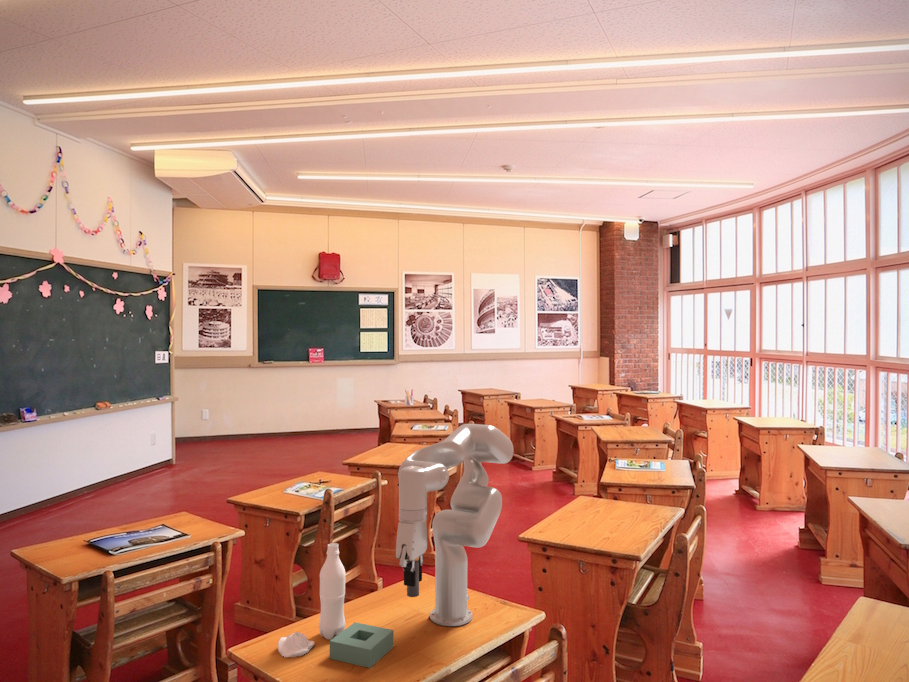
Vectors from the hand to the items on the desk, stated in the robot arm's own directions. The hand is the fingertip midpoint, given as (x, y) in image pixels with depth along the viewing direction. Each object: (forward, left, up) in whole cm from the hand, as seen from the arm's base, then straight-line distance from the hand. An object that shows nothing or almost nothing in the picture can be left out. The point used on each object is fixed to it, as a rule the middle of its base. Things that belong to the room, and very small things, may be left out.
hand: (412, 582), depth 163 cm
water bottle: (+2, -24, -18) cm, 30 cm away
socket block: (+7, -11, -17) cm, 22 cm away
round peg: (0, 0, -3) cm, 3 cm away
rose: (+13, -28, -18) cm, 36 cm away
